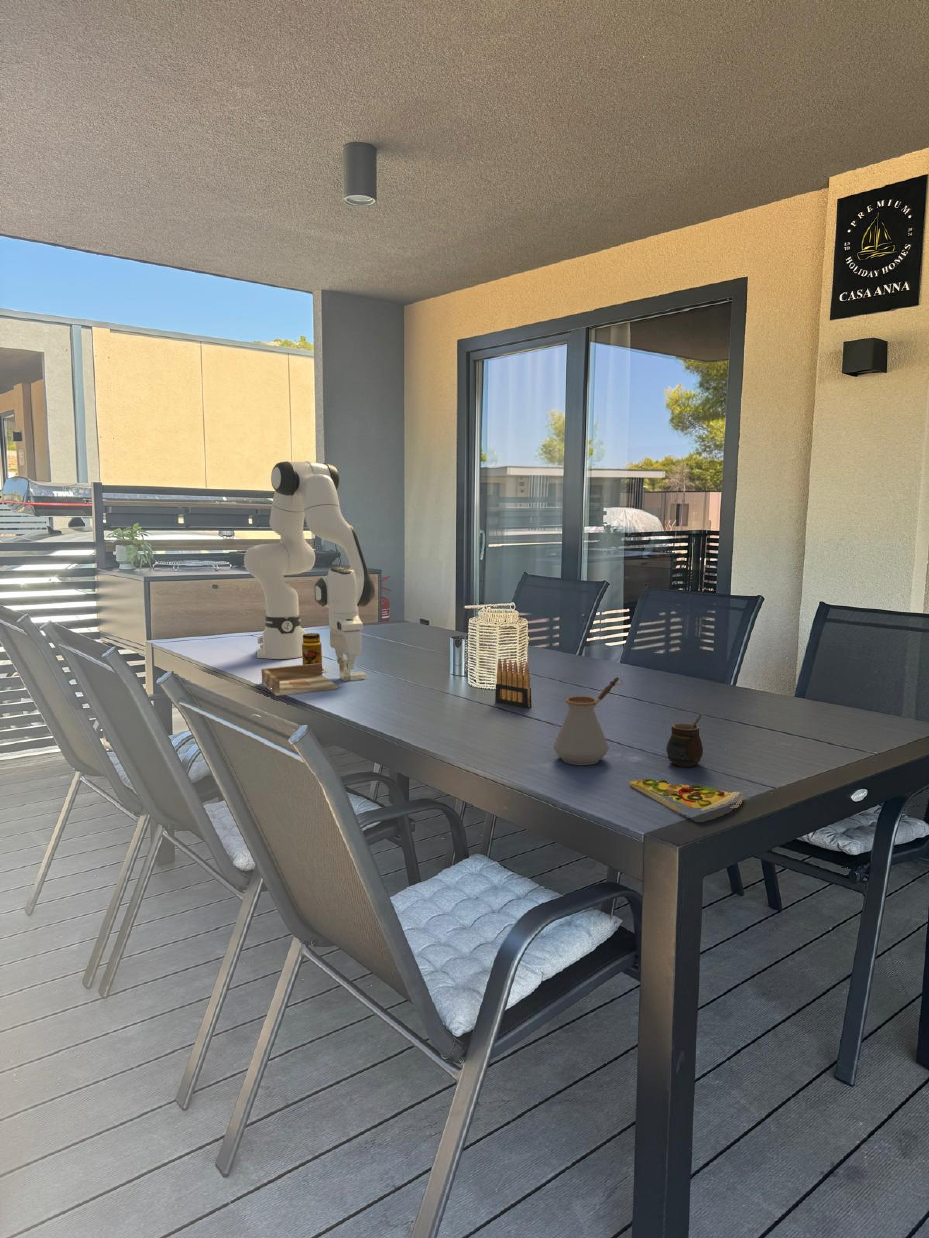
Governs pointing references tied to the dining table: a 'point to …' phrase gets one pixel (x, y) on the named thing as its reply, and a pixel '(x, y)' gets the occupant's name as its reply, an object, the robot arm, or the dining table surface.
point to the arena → (296, 679)
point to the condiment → (312, 649)
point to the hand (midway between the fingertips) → (345, 666)
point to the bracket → (345, 672)
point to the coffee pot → (582, 731)
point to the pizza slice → (685, 794)
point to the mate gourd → (685, 744)
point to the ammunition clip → (513, 685)
